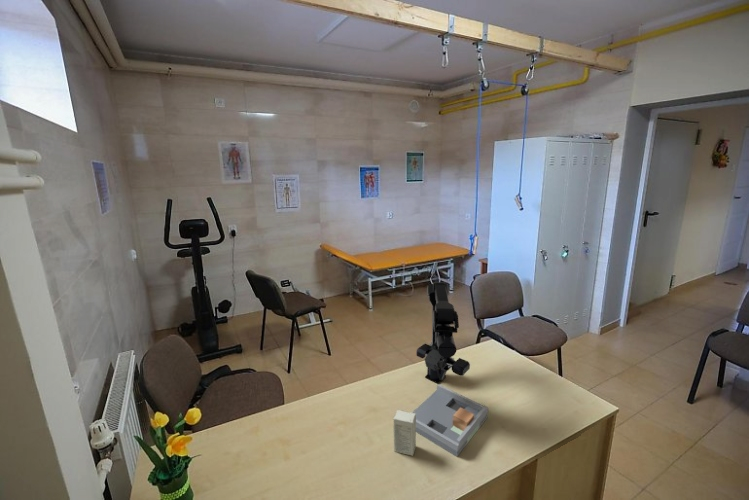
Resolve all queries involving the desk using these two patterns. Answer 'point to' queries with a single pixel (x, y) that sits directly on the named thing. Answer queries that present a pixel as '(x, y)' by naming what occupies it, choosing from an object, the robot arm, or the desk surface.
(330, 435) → the desk surface
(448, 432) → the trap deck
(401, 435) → the skincare box
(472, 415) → the block
